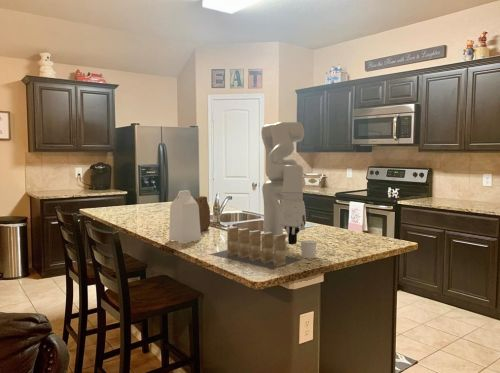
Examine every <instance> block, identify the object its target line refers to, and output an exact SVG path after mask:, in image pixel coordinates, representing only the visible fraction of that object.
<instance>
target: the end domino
mask: <svg viewBox="0 0 500 373" xmlns="http://www.w3.org/2000/svg"><path fill="white" fill-rule="evenodd" d="M238 230H240V229H239V226H231V227H227V230H226V231H227V235H226V236H227V238H226V239H227V243H226V244H227V249H226V250H227V255H230V256H232V255H236V254H238Z"/></svg>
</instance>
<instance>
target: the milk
mask: <svg viewBox="0 0 500 373" xmlns="http://www.w3.org/2000/svg"><path fill="white" fill-rule="evenodd" d="M169 208H170V209H169V228H168V232H169V233H168V234H169V236H168V240H169V239H170V240H174V241H178V242H181V243H180V244H182V243H184V244H186V243H185V242H189V243H192V242H191V241H194V242H198V241H197V240H199V241H202V236H201V235H202V234H201V232H202V231H200V218H199V206H198V204H197V202H196V201H195V200H194V197H193V196H192V195H191V190H179V191H178V194H177V196H176V197H175V199H174V200H173V201H172V202H171V204H170V206H169Z"/></svg>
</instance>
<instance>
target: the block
mask: <svg viewBox="0 0 500 373" xmlns="http://www.w3.org/2000/svg"><path fill="white" fill-rule="evenodd" d="M193 198H194V200H195V201H196V202H197V204H198V206H199V218H200V232H204V231H207V230H209V227H210V225H211V209H210V208H211V207H210V205H209V203H208V197H207V196H205V195H203V196H202V195H201V196H200V195H199V196H195V197H193Z"/></svg>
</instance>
